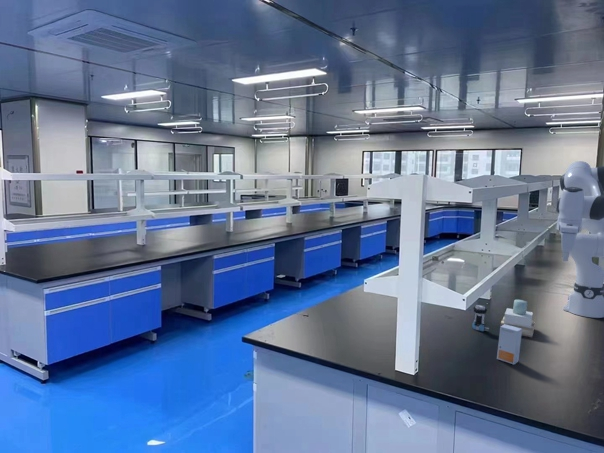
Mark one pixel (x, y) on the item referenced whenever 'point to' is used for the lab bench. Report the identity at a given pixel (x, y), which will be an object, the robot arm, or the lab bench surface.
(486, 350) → the lab bench surface
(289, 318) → the lab bench surface
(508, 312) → the white top block
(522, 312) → the pale blue egg shape
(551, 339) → the lab bench surface
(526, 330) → the maple base block
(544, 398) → the lab bench surface
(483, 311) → the push button
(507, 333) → the skincare box
